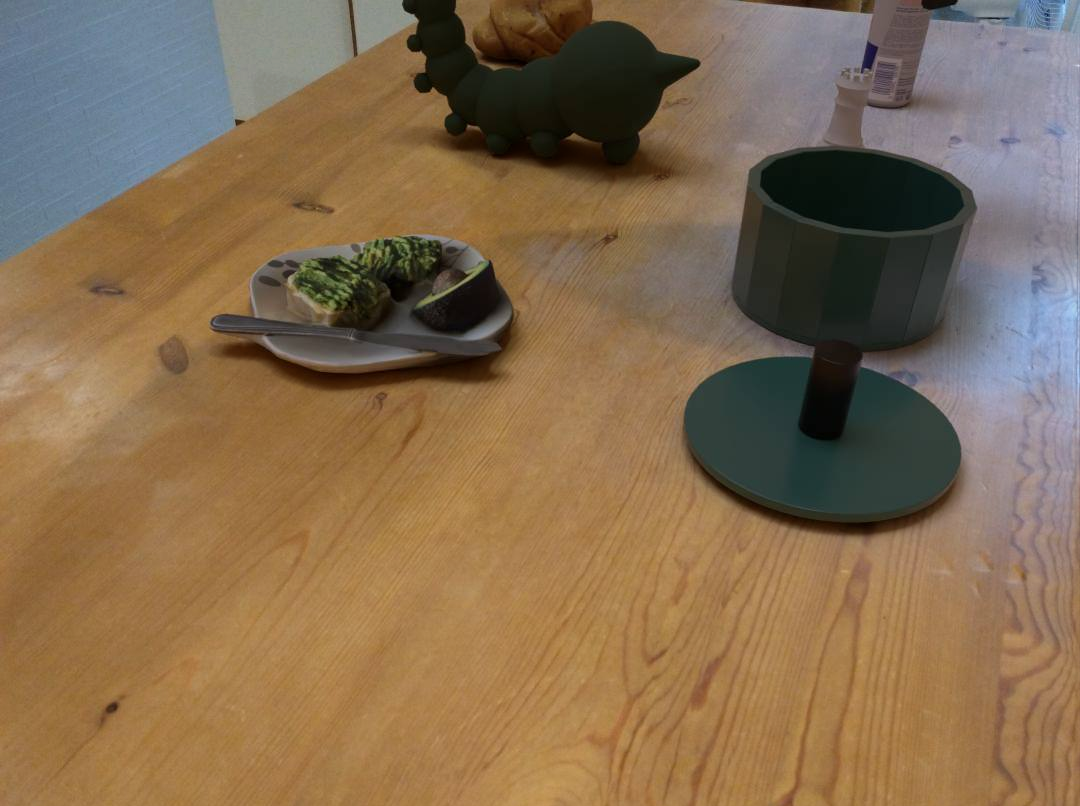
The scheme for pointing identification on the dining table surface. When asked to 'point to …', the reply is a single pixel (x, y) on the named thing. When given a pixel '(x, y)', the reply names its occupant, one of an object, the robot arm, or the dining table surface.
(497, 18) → the bread roll
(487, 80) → the toy figurine
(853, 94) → the rook chess piece
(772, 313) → the pot
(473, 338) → the avocado toast plate
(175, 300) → the dining table surface
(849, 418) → the lid
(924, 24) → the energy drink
